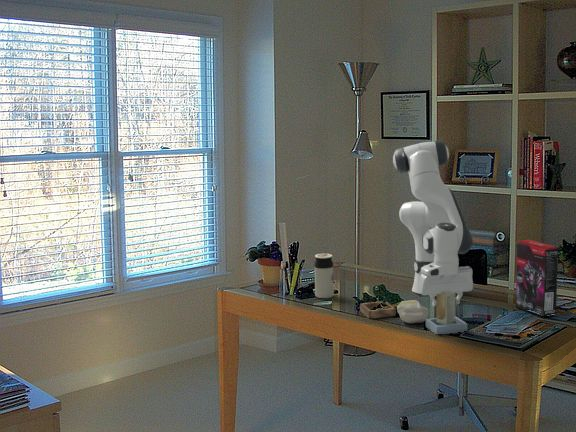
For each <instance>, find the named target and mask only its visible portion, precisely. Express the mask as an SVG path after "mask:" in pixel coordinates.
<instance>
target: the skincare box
mask: <svg viewBox="0 0 576 432" xmlns="http://www.w3.org/2000/svg"><path fill="white" fill-rule="evenodd" d="M455 298H456V293H452V292H451V291H445V292H441V294H437V296H436V301H438V306H436V318H437V320H436V322H437V323H441V324H445V325H446V324H449V323H451V322H453V321H455V316H456V304H455Z"/></svg>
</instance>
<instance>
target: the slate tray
mask: <svg viewBox="0 0 576 432" xmlns="http://www.w3.org/2000/svg"><path fill="white" fill-rule="evenodd" d="M436 320H437V317H433V318H427V319H426V320H425V328H427V330H429V329H430V330H431V331H430V330H429V331H430V332H431V333H433V332H434V333H433V334H434V335H436V334H437V335H436V336H439V335H438V334H443V335H449V334H450V333H452V334H459V333H458V332H461V333H465V332H464V331H467V332H468V323H467V322H466V321H464V320H463V319H461V318H459V317H458V316H457V315H455V321H453V322H451V323H449V324H446V325H445V324H441V323H437V322H436Z"/></svg>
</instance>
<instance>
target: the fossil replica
mask: <svg viewBox="0 0 576 432" xmlns="http://www.w3.org/2000/svg"><path fill="white" fill-rule="evenodd" d="M396 310H397V311H396V312H397V313H398V314H399V317H400V319H401V320H402V321H404V322H405V323H407V324H415V323H419V324H420V323H421V324H422V323H424V322H426V319H429V318H428V317H429V315H430V313H429V312H430V310H429V309H428V308H427V307H425V306H422V305H421V303H420V302H419V300H417V299H411V300H410V299H409V300H402V301H401V302H399V304H398V305H397V306H396Z"/></svg>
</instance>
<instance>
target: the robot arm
mask: <svg viewBox="0 0 576 432" xmlns="http://www.w3.org/2000/svg"><path fill="white" fill-rule="evenodd" d="M449 158H450V152H449V148H448V146H447V145H446V143H445V142H444V141H442V140H434V141H425V142H419V143H416V144H411V145H408V146H405V147H402V146H401V147H399V148H397V149H395V151H394V153H393V156H392V163H393V166H394V168H395V169H396V171H397V172H398V173H400V174H408V178H409V185H410V189H411V193H412V195H413V196H414V197H415V198H416V199H417V200H420V201H417V200H416V201H415V200H413V201H409V202H408V201H407V202H404V203H403V204H402V205H401V207H400V208H399V212H398V215H399V220H400V222H401V223H402V224H403V225H404V226H405V227H406V228H408V230H409V232H410V234H411V235H412V237H413V241H414V246H415V248H414V249H415V250H414V251H415V258H414V263H413V266H414V269H413V270H414V281H413V285H412V288H411V291H412V292H413V293H416V294H419V295H422V296H429V298H430V300H431V302H432V303H431V305H432V307H437V306H438V301H437V299H435V297H437V294H441V292H445V291H451V292H452V293H455V294H456V295H457V296H455V305H460V303H461V302H460V300H461V298H462V296H463V295H464V293H465V292H466V293H467V292H472V290H473V289H474V281H473V269H472V267H471V266H469V265H466V266H459V264H460V263H459V261H460V259H459V255H465V254H466V253H468V252H469V251H470V249H471V248H472V246H473V242H474V240H473V236H472V233H471V231H470V229H469V228H468V225H467V224H466V221H465V219H464V216H463V213H462V210H461V208H460V205H459V203H458V200H457V199H456V196H455V194H454V192H453V190H452V189H451V188H449V187H447V185H446V184H445V183H444V182H443V179H442V178H441V174H440V169H439V168H441V167H443V166H446V164H447V163H449ZM458 254H459V255H458Z"/></svg>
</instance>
